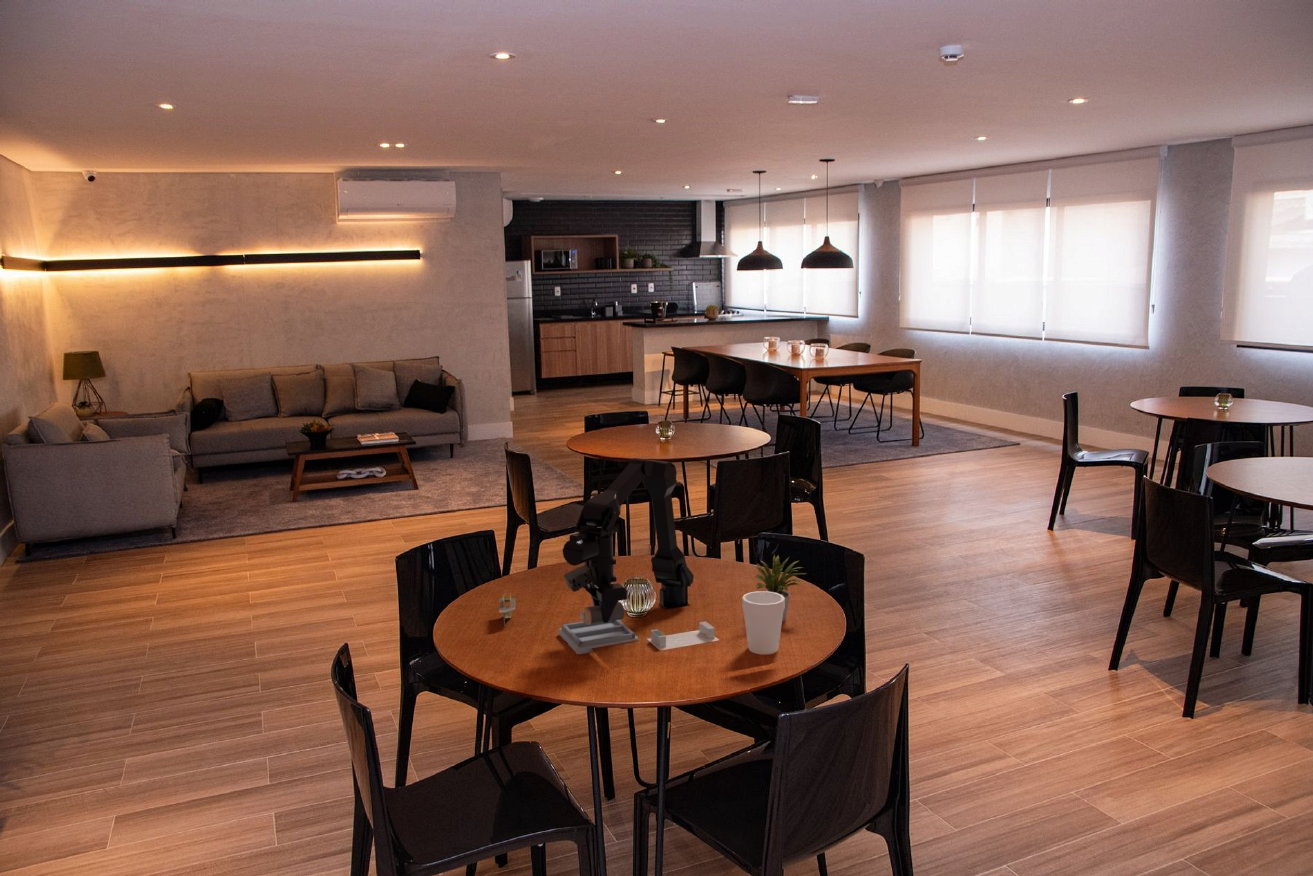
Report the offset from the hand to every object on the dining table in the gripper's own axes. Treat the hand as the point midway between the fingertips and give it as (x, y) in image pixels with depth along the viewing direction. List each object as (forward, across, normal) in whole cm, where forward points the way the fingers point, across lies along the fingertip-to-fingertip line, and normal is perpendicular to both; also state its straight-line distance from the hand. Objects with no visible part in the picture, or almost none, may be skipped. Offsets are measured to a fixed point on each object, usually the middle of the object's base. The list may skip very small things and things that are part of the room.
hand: (602, 619), depth 222 cm
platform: (+6, -25, -16) cm, 30 cm away
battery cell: (0, 0, 0) cm, 1 cm away
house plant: (+6, +3, +44) cm, 44 cm away
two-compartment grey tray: (+6, -3, 0) cm, 7 cm away
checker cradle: (+6, +8, +17) cm, 20 cm away
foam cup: (+6, +21, +31) cm, 38 cm away
